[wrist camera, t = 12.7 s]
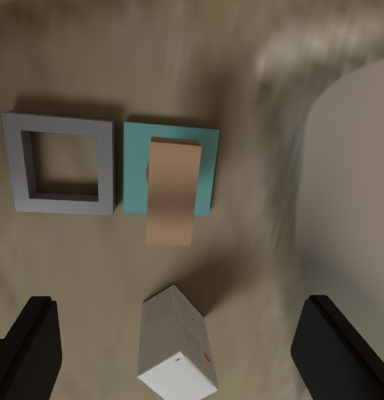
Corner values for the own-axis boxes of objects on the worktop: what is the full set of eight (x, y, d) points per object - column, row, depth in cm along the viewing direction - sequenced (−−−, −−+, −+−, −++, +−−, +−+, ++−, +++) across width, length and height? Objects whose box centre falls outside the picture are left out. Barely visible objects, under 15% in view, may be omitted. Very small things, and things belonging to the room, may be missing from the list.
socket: (24, 204, 30) (15, 211, 28) (11, 111, 27) (0, 112, 25) (115, 208, 32) (112, 215, 30) (115, 120, 28) (112, 121, 26)
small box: (141, 302, 37) (134, 376, 27) (174, 282, 36) (180, 350, 27) (173, 336, 40) (177, 413, 30) (205, 317, 39) (219, 391, 30)
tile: (124, 208, 32) (123, 211, 31) (125, 121, 28) (123, 121, 27) (207, 212, 33) (208, 215, 32) (217, 129, 30) (219, 130, 29)
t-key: (147, 129, 28) (143, 141, 20) (195, 133, 28) (208, 146, 21) (144, 208, 31) (139, 244, 23) (187, 211, 32) (195, 246, 24)
